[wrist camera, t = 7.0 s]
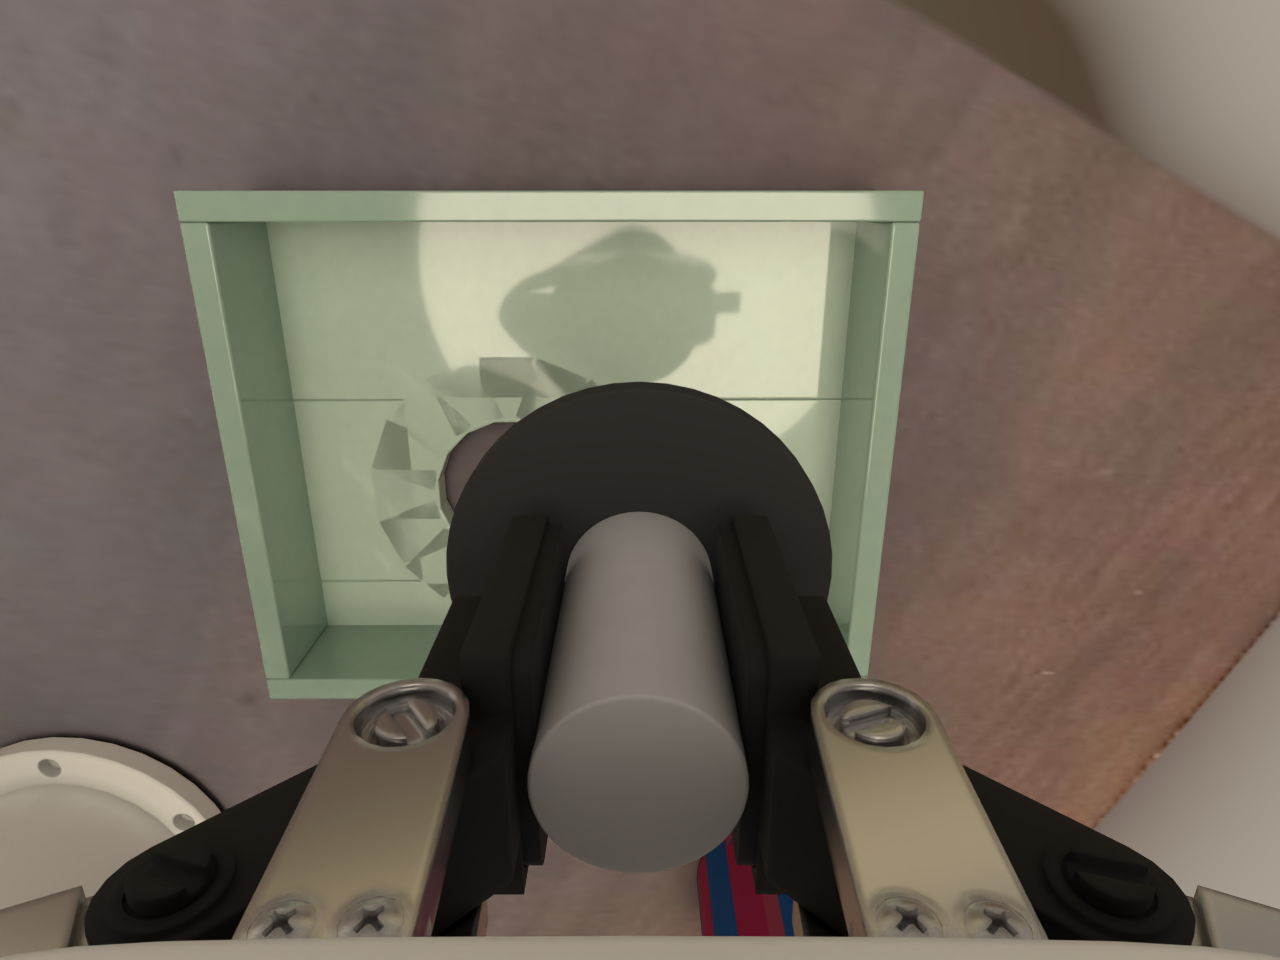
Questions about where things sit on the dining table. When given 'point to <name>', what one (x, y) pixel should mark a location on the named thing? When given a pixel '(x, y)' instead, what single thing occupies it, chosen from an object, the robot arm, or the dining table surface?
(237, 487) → the sink
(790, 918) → the mug
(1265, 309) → the dining table surface
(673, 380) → the sink floor
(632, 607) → the plug
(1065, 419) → the dining table surface
